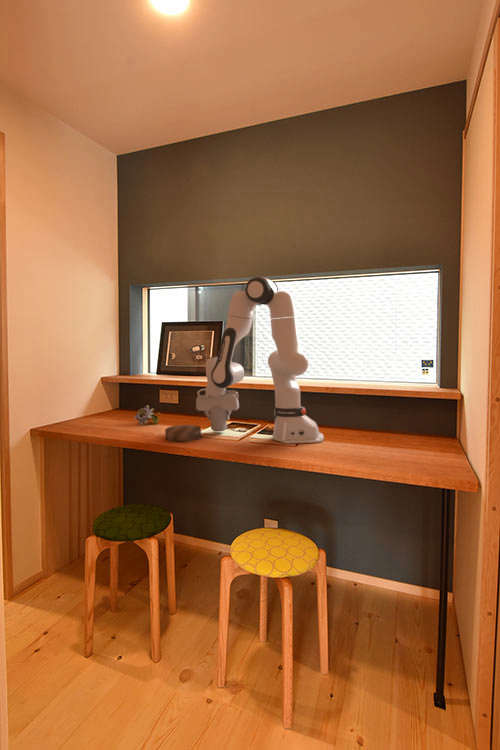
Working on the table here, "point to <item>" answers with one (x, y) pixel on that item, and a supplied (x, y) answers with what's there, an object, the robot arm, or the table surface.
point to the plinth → (183, 433)
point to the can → (218, 418)
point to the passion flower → (146, 415)
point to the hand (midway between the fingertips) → (218, 419)
